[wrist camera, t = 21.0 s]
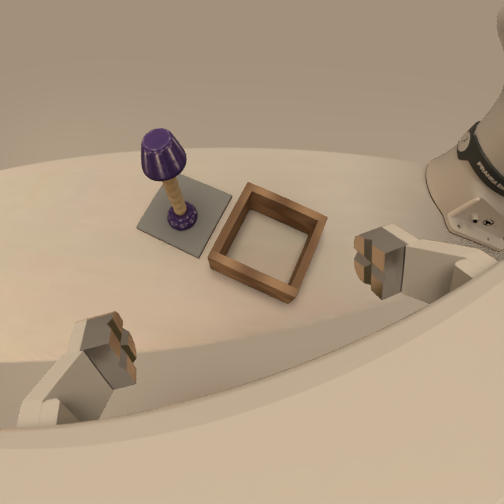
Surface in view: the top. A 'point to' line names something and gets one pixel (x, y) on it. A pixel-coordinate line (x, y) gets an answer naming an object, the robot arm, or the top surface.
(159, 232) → the slate mat
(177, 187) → the toy lamp
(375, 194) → the top surface
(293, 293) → the walnut crate
